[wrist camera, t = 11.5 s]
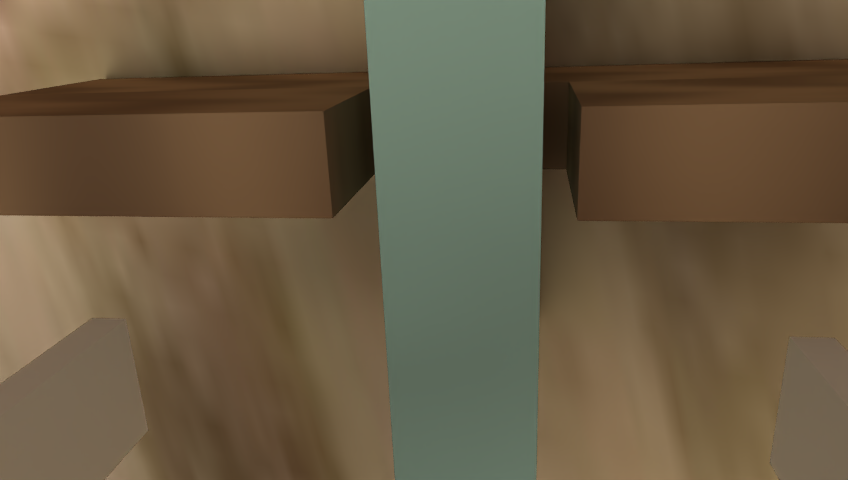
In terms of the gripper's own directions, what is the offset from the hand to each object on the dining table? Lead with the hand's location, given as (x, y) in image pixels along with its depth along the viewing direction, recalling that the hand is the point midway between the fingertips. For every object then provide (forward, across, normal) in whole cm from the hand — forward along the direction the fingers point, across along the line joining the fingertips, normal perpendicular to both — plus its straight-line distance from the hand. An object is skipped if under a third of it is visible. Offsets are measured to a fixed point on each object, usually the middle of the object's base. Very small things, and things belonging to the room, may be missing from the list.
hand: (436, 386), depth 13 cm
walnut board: (+8, +2, +4) cm, 9 cm away
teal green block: (+8, +1, +4) cm, 9 cm away
